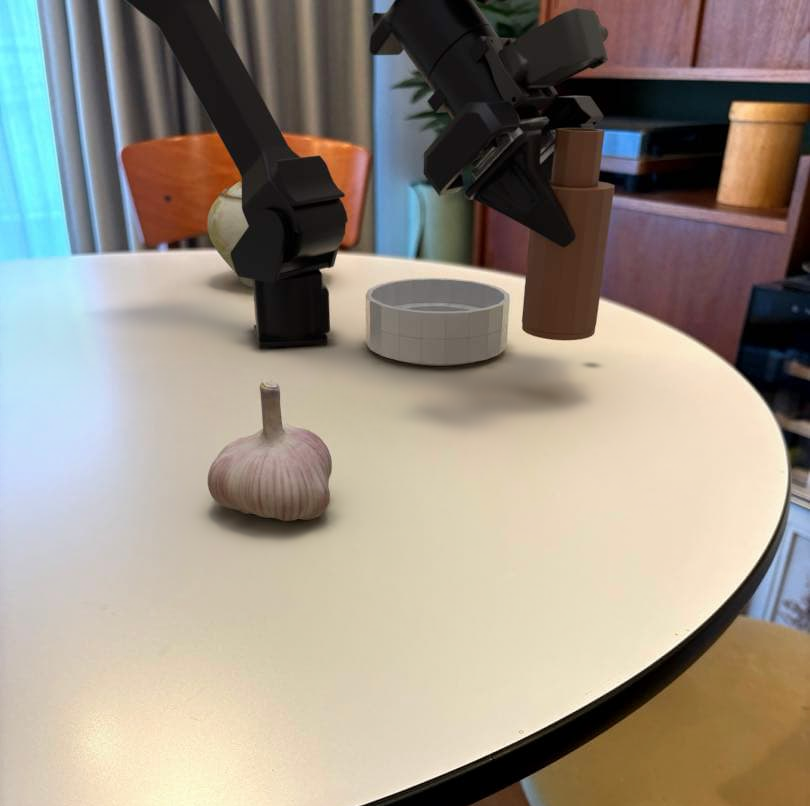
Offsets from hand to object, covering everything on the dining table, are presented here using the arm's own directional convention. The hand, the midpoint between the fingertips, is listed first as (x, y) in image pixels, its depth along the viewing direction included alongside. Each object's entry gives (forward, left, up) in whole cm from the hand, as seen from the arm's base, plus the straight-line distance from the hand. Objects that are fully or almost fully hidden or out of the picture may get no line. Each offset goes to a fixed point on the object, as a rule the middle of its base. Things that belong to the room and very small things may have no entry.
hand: (586, 236), depth 60 cm
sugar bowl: (-19, +45, -13) cm, 51 cm away
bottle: (-1, +1, -7) cm, 7 cm away
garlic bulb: (-25, -14, -13) cm, 31 cm away
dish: (-7, +15, -12) cm, 21 cm away
